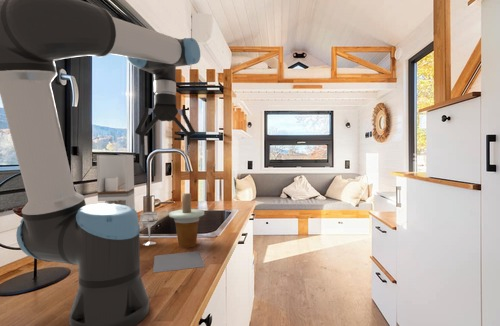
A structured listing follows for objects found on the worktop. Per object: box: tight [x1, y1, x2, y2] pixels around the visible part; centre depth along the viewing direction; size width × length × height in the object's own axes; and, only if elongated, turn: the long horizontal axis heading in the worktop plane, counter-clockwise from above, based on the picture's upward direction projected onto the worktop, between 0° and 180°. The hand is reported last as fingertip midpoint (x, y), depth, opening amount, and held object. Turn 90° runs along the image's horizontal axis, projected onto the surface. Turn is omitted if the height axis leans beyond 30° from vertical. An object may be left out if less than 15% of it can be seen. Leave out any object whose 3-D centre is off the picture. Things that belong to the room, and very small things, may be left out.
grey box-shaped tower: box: [96, 154, 136, 211], centre depth 113 cm, size 11×11×35 cm
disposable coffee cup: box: [173, 217, 201, 249], centre depth 108 cm, size 10×10×12 cm
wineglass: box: [139, 211, 159, 246], centre depth 112 cm, size 7×7×12 cm
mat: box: [152, 250, 206, 274], centre depth 91 cm, size 15×15×1 cm
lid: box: [168, 192, 205, 219], centre depth 108 cm, size 13×13×8 cm
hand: (166, 154), depth 102 cm, fingers open, 13 cm apart
